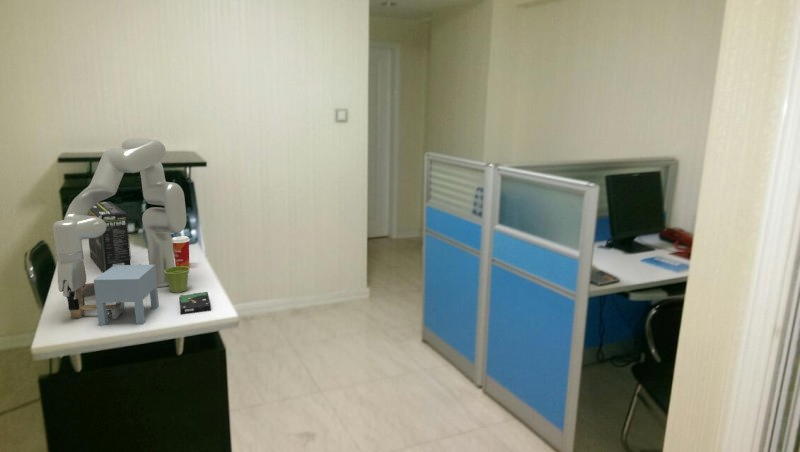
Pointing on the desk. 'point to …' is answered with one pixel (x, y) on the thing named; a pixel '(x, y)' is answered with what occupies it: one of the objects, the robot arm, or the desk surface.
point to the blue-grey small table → (126, 289)
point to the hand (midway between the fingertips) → (76, 307)
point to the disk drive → (194, 303)
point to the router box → (110, 237)
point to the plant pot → (177, 278)
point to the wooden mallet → (95, 307)
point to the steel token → (109, 314)
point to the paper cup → (181, 250)
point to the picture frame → (89, 292)
